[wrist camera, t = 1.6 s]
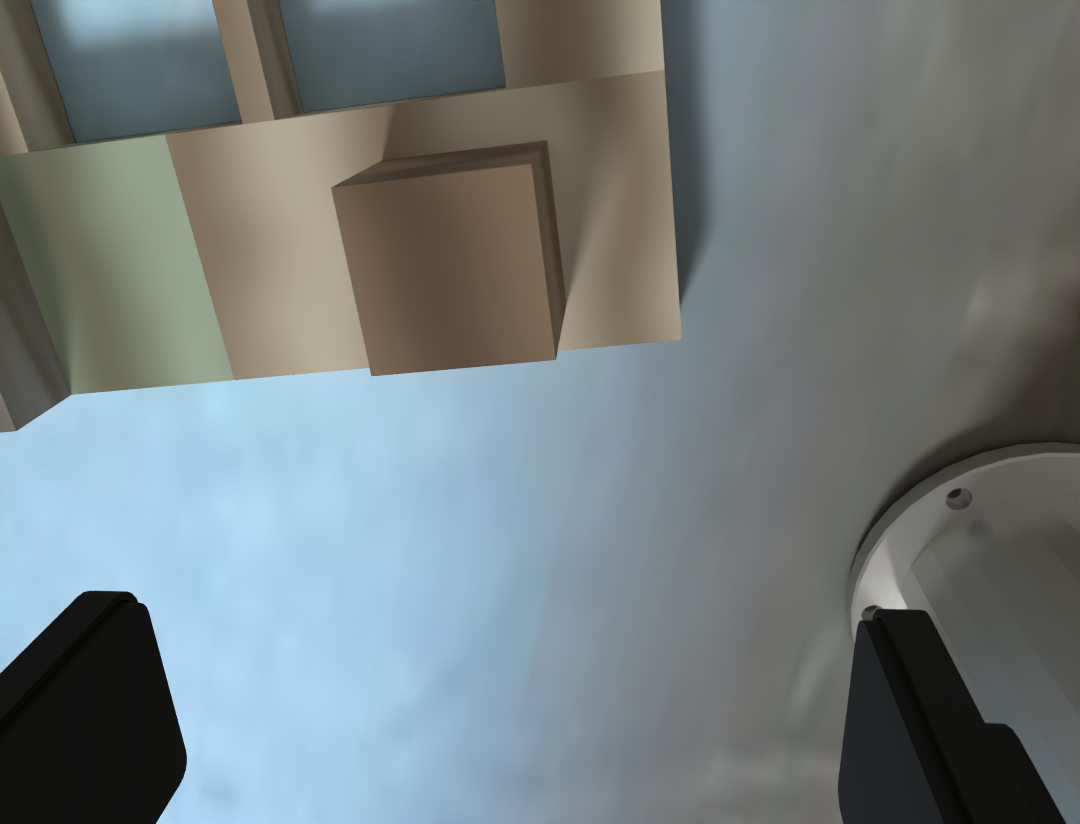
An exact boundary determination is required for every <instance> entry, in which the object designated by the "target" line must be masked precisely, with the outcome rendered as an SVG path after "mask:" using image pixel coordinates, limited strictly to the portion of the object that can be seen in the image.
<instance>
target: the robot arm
mask: <svg viewBox="0 0 1080 824" xmlns="http://www.w3.org/2000/svg"><path fill="white" fill-rule="evenodd" d="M952 490H953V491H952ZM846 612H847V618H848V624H849V631H850V634H851V637H852V639H853V642H854V645H855V648H854V656H853V664H852V673H851V681H850V689H849V697H848V706H847V714H846V722H845V730H844V739H843V747H842V755H841V763H840V772H839V780H838V797H839V806H840V811H841V816H842V820H843V823H844V824H1080V444H1070V443H1059V442H1048V443H1033V444H1019V445H1014V446H1009V447H1005V448H1001V449H996V450H992V451H988V452H983V453H980V454H977V455H975V456H972V457H970V458H967V459H965V460H962V461H960V462H957V463H955V464H952V465H950V466H947V467H946V468H944V469H942V470H941V471H939V472H937V473H935V474H934V475H932V476H930V477H929V478H927V479H925V480H924V481H922V482H920V483H919V484H917V485H916V486H914V487H913V488H912V489H911V490H910V491H908V492H907V493H906V494H905V495H904V496H902V497H901V498H900V499H899V500H898V501H896V502H895V503H894V504H893V505H892V506H891V507H890V508H889V509H888V510H887V511H886V513H885V514H884V515H883V516H882V517H881V518H880V520H879V521H878V522H877V523H876V524H875V526H874V527H873V528H872V529H871V530H870V532H869V534H868V536H867V537H866V539H865V541H864V543H863V544H862V546H861V548H860V550H859V552H858V553H857V555H856V558H855V561H854V564H853V567H852V570H851V574H850V577H849V580H848V586H847V599H846ZM186 765H187V755H186V749H185V746H184V742H183V738H182V734H181V731H180V727H179V723H178V719H177V716H176V712H175V708H174V704H173V701H172V697H171V693H170V689H169V686H168V682H167V678H166V674H165V671H164V667H163V663H162V659H161V656H160V652H159V648H158V645H157V641H156V637H155V633H154V630H153V626H152V622H151V618H150V615H149V611H148V609H147V607H146V606H145V605H144V604H142V603H138V601H137V599H136V597H135V596H134V595H133V594H132V593H129V592H122V591H87V592H83V593H82V594H81V595H79V596H78V597H77V598H76V599H75V600H74V601H73V602H72V603H71V604H70V605H69V606H68V607H67V608H66V609H65V610H64V611H63V612H62V613H61V614H60V615H59V616H58V617H57V618H56V619H55V620H54V621H53V622H52V623H51V624H50V625H49V626H48V627H47V628H46V629H45V630H44V631H43V632H42V633H41V634H40V635H39V636H38V637H37V638H36V639H35V640H34V641H33V642H32V643H31V644H30V645H29V646H28V647H27V648H26V649H25V650H24V651H23V652H22V653H21V654H20V655H19V656H18V657H16V658H15V659H14V660H13V661H12V662H11V663H10V664H9V665H8V666H7V667H6V668H5V669H4V670H3V671H2V672H1V673H0V824H156V823H157V821H158V819H159V818H160V816H161V814H162V813H163V811H164V809H165V808H166V806H167V805H168V803H169V801H170V800H171V798H172V796H173V795H174V793H175V792H176V790H177V788H178V787H179V785H180V783H181V781H182V779H183V777H184V774H185V770H186Z"/></svg>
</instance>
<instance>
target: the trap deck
mask: <svg viewBox="0 0 1080 824" xmlns="http://www.w3.org/2000/svg"><path fill="white" fill-rule="evenodd" d="M212 3H213V7H214V11H215V15H216V19H217V23H218V27H219V31H220V35H221V39H222V43H223V47H224V51H225V55H226V59H227V63H228V67H229V71H230V75H231V79H232V83H233V87H234V91H235V95H236V99H237V103H238V107H239V111H240V115H241V119H242V121H239V122H232V123H224V124H216V125H209V126H201V127H193V128H186V129H178V130H170V131H163V132H155V133H147V134H140V135H132V136H124V137H117V138H109V139H101V140H94V141H86V142H78V143H75V140H74V137H73V134H72V131H71V128H70V124H69V121H68V118H67V115H66V112H65V109H64V106H63V103H62V100H61V97H60V94H59V91H58V87H57V84H56V81H55V78H54V75H53V72H52V69H51V66H50V63H49V60H48V57H47V54H46V50H45V47H44V44H43V41H42V38H41V35H40V32H39V29H38V26H37V23H36V20H35V17H34V13H33V10H32V7H31V4H30V1H29V0H0V432H11V431H17V430H19V429H20V428H22V427H23V426H25V425H26V424H28V423H29V422H31V421H32V420H34V419H35V418H37V417H38V416H40V415H41V414H43V413H44V412H46V411H47V410H49V409H50V408H52V407H53V406H55V405H56V404H58V403H60V402H61V401H63V400H64V399H66V398H67V397H69V396H70V395H73V394H84V393H95V392H106V391H117V390H128V389H140V388H151V387H162V386H173V385H184V384H195V383H206V382H217V381H228V380H239V379H251V378H262V377H273V376H284V375H295V374H306V373H317V372H328V371H339V370H351V369H362V368H370V367H369V362H368V357H367V353H366V348H365V344H364V339H363V334H362V330H361V325H360V320H359V316H358V311H357V307H356V302H355V297H354V293H353V288H352V284H351V279H350V274H349V270H348V265H347V260H346V256H345V251H344V247H343V242H342V237H341V233H340V228H339V223H338V219H337V214H336V210H335V205H334V200H333V196H332V191H331V187H333V186H335V185H337V184H339V183H341V182H342V181H344V180H346V179H348V178H350V177H352V176H354V175H355V174H357V173H359V172H361V171H363V170H365V169H367V168H369V167H370V166H372V165H374V164H376V163H378V162H380V161H382V160H389V159H397V158H405V157H413V156H422V155H430V154H438V153H446V152H454V151H463V150H471V149H479V148H487V147H496V146H504V145H512V144H520V143H528V142H537V141H545V140H547V142H548V150H549V159H550V167H551V176H552V185H553V193H554V202H555V210H556V219H557V227H558V236H559V244H560V253H561V262H562V270H563V279H564V287H565V296H566V304H567V305H566V310H565V315H564V320H563V325H562V330H561V336H560V341H559V346H558V351H562V350H573V349H584V348H595V347H606V346H617V345H628V344H639V343H650V342H662V341H673V340H682V337H681V321H680V305H679V289H678V274H677V258H676V242H675V226H674V210H673V195H672V179H671V163H670V147H669V131H668V116H667V100H666V84H665V68H664V53H663V37H662V21H661V5H660V0H495V7H496V15H497V22H498V30H499V37H500V45H501V53H502V60H503V68H504V75H505V83H506V87H500V88H492V89H484V90H477V91H469V92H461V93H454V94H446V95H438V96H431V97H423V98H415V99H408V100H400V101H392V102H385V103H377V104H369V105H362V106H354V107H346V108H339V109H331V110H323V111H316V112H308V113H303V111H302V107H301V102H300V98H299V93H298V89H297V84H296V80H295V75H294V71H293V66H292V62H291V57H290V53H289V48H288V44H287V39H286V34H285V30H284V25H283V21H282V16H281V12H280V7H279V3H278V0H212Z"/></svg>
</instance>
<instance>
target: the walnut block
mask: <svg viewBox="0 0 1080 824" xmlns="http://www.w3.org/2000/svg"><path fill="white" fill-rule="evenodd" d="M331 191H332V196H333V200H334V205H335V210H336V214H337V219H338V223H339V228H340V233H341V237H342V242H343V247H344V251H345V256H346V260H347V265H348V270H349V274H350V279H351V284H352V288H353V293H354V297H355V302H356V307H357V311H358V316H359V320H360V325H361V330H362V334H363V339H364V344H365V348H366V353H367V357H368V362H369V367H370V371H371V376H379V375H391V374H402V373H413V372H424V371H436V370H447V369H458V368H469V367H481V366H492V365H503V364H515V363H526V362H537V361H548V360H556V356H557V351H558V346H559V341H560V336H561V330H562V325H563V320H564V315H565V310H566V305H567V304H566V296H565V287H564V279H563V270H562V262H561V253H560V244H559V236H558V227H557V219H556V210H555V202H554V193H553V185H552V176H551V167H550V159H549V150H548V142H547V140H545V141H537V142H528V143H520V144H512V145H504V146H496V147H487V148H479V149H471V150H463V151H454V152H446V153H438V154H430V155H422V156H413V157H405V158H397V159H389V160H382V161H380V162H378V163H376V164H374V165H372V166H370V167H369V168H367V169H365V170H363V171H361V172H359V173H357V174H355V175H354V176H352V177H350V178H348V179H346V180H344V181H342V182H341V183H339V184H337V185H335V186H333V187H331Z"/></svg>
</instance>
